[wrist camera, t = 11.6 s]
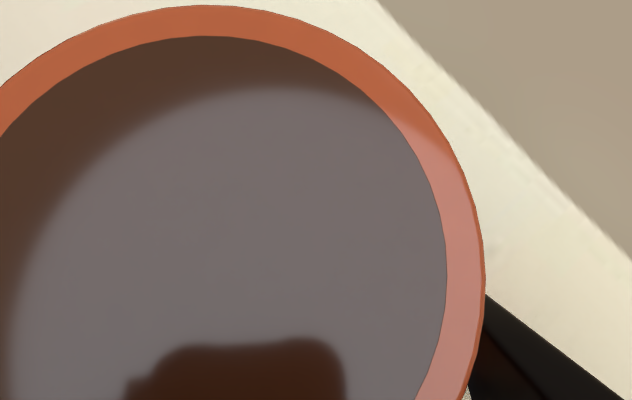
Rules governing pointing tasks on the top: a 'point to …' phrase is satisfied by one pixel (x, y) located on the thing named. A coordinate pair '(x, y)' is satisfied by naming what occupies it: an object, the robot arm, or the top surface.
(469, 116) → the top surface
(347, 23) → the top surface
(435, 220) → the tumbler
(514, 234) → the top surface
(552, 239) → the top surface
